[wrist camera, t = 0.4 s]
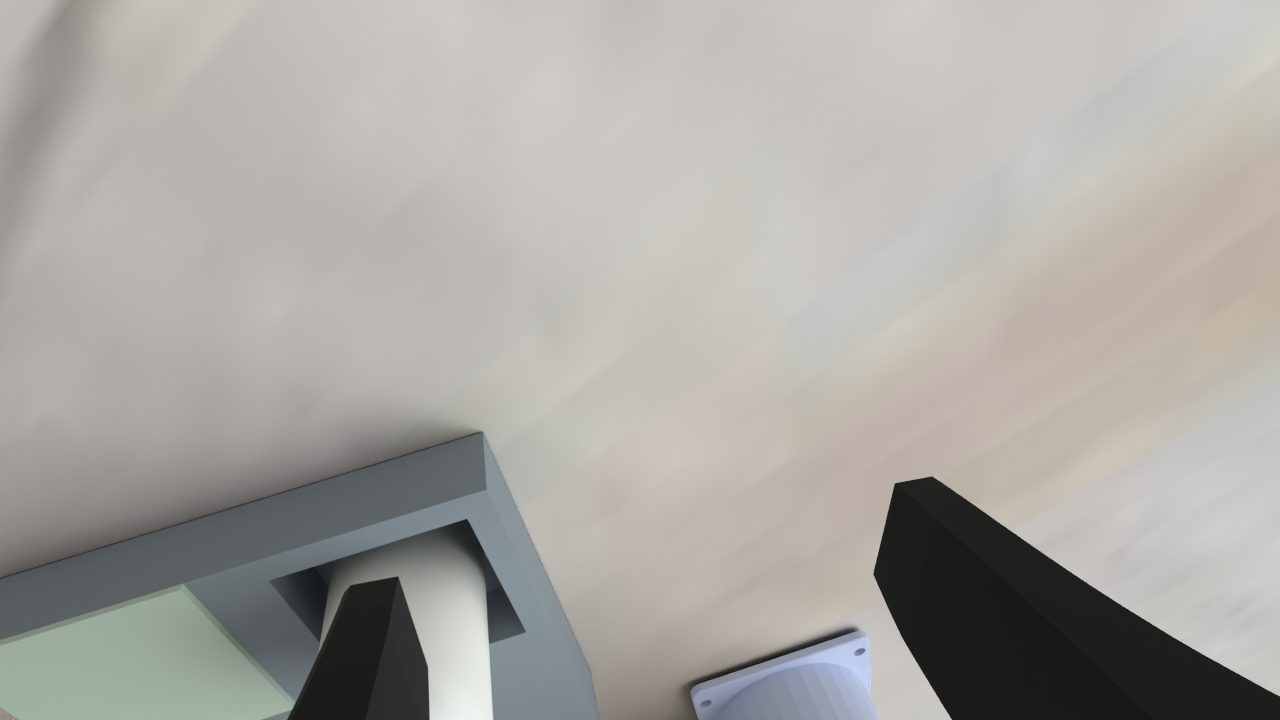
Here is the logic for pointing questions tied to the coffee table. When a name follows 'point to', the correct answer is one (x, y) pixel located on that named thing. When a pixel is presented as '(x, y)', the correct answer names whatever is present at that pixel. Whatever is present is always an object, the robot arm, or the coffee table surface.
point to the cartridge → (435, 611)
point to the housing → (275, 602)
